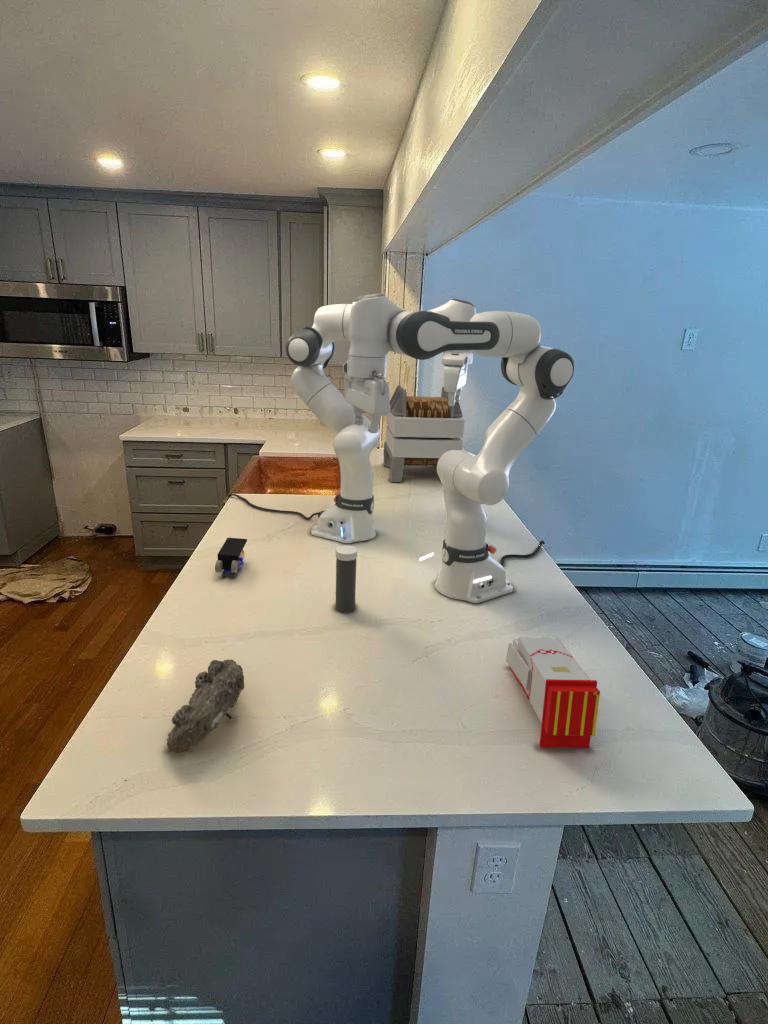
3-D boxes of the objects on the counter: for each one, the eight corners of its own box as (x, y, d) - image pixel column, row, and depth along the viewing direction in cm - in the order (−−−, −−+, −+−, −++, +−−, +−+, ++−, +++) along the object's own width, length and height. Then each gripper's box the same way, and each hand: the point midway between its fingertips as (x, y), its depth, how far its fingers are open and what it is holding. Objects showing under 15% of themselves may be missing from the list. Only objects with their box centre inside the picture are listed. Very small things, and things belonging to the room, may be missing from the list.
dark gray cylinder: (333, 611, 147) (334, 554, 142) (337, 602, 152) (338, 546, 147) (353, 613, 147) (355, 556, 141) (356, 603, 152) (358, 548, 146)
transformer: (382, 463, 289) (386, 382, 275) (445, 464, 293) (451, 384, 279) (390, 482, 257) (394, 392, 243) (460, 483, 261) (468, 394, 247)
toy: (554, 620, 129) (609, 687, 99) (549, 674, 131) (601, 755, 102) (501, 619, 128) (541, 686, 99) (497, 673, 131) (534, 754, 102)
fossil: (192, 660, 117) (244, 628, 112) (224, 691, 120) (276, 661, 115) (142, 746, 98) (202, 712, 93) (182, 779, 101) (242, 748, 96)
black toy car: (238, 584, 162) (249, 557, 175) (236, 562, 158) (247, 536, 172) (215, 584, 161) (227, 556, 175) (212, 561, 158) (225, 535, 171)
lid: (333, 560, 142) (333, 553, 141) (337, 551, 147) (337, 544, 147) (355, 561, 142) (355, 554, 141) (358, 552, 147) (358, 546, 146)
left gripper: (453, 354, 180) (449, 398, 185) (441, 358, 161) (437, 407, 166) (473, 355, 178) (468, 399, 183) (463, 360, 160) (459, 409, 164)
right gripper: (398, 374, 122) (395, 437, 127) (364, 364, 140) (362, 420, 145) (371, 374, 120) (369, 438, 125) (340, 364, 137) (339, 421, 142)
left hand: (454, 403), depth 174 cm, fingers open, 8 cm apart
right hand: (365, 428), depth 135 cm, fingers open, 8 cm apart
